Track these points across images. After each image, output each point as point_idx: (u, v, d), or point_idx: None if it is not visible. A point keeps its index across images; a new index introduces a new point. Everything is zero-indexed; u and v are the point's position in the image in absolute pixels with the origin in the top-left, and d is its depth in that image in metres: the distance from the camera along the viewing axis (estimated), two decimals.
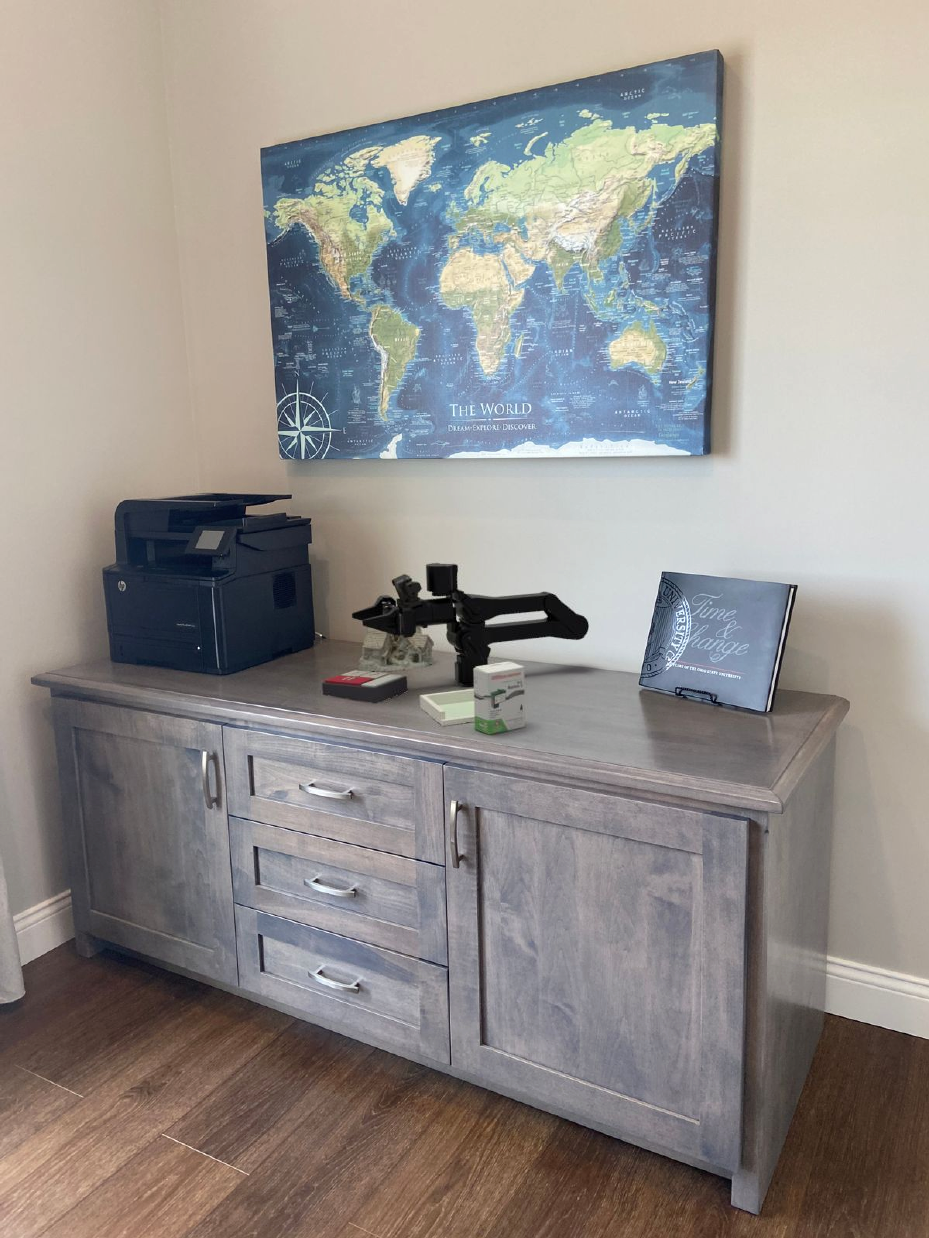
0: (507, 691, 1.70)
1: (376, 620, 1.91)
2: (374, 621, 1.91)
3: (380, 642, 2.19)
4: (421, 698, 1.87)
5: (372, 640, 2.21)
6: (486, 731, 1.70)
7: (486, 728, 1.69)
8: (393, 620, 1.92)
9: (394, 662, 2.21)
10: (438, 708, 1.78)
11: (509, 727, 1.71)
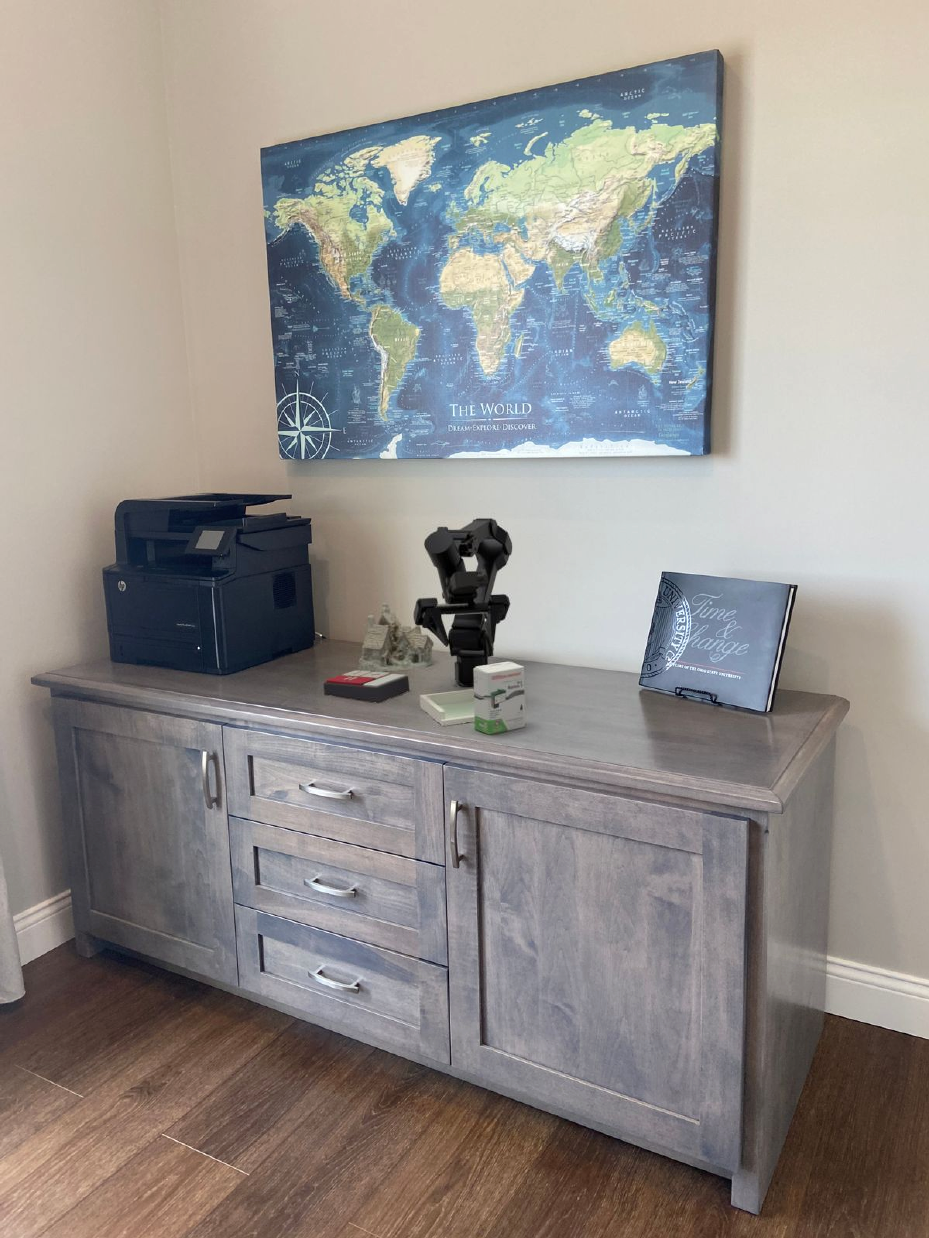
0: (507, 691, 1.70)
1: None
2: None
3: (380, 642, 2.19)
4: (421, 698, 1.87)
5: (372, 641, 2.20)
6: (486, 731, 1.70)
7: (486, 728, 1.69)
8: None
9: (394, 662, 2.21)
10: (438, 708, 1.78)
11: (509, 727, 1.71)
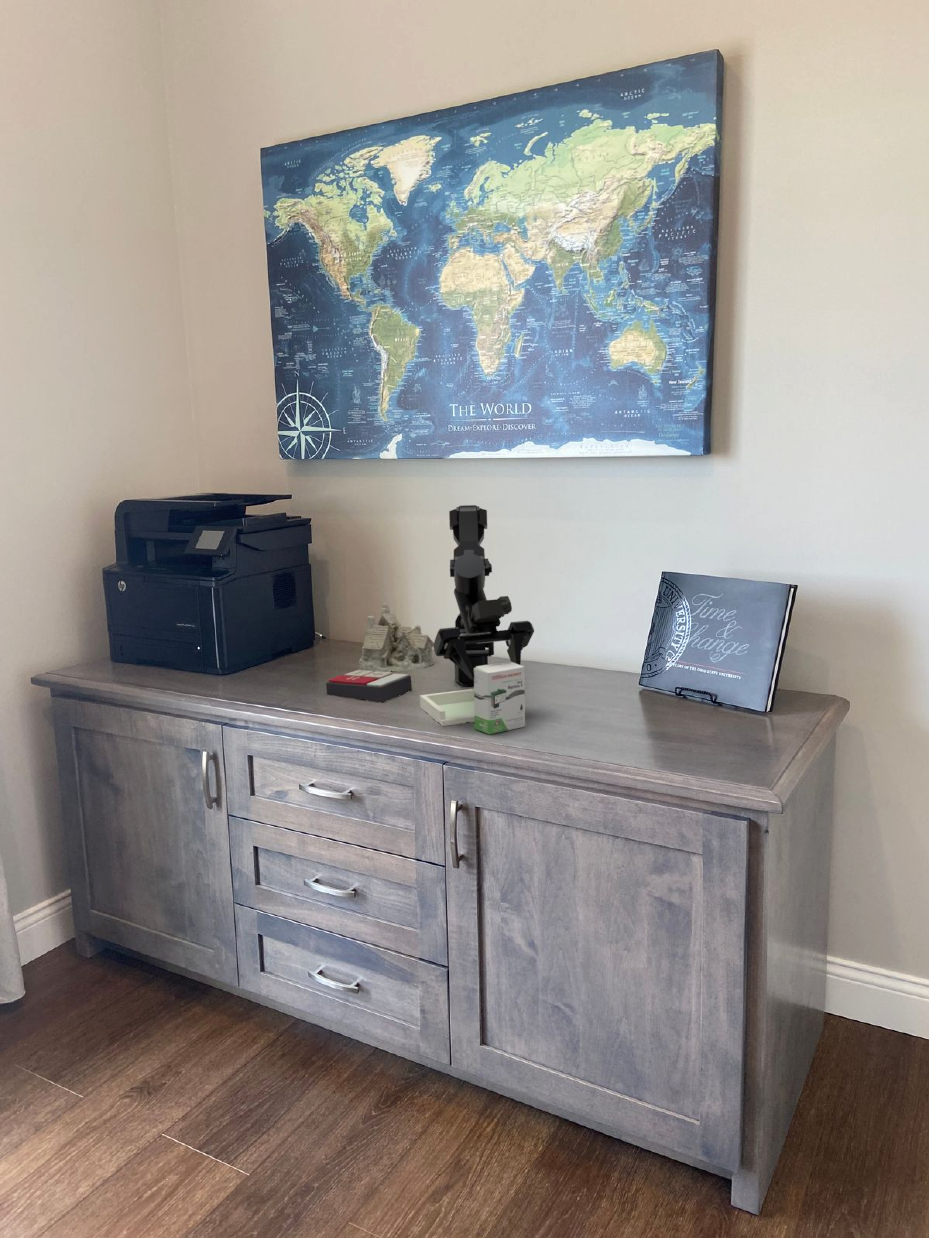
0: (507, 691, 1.70)
1: None
2: None
3: (380, 643, 2.18)
4: (421, 698, 1.87)
5: (372, 641, 2.20)
6: (486, 731, 1.70)
7: (486, 728, 1.69)
8: None
9: (394, 663, 2.20)
10: (438, 708, 1.78)
11: (509, 727, 1.71)
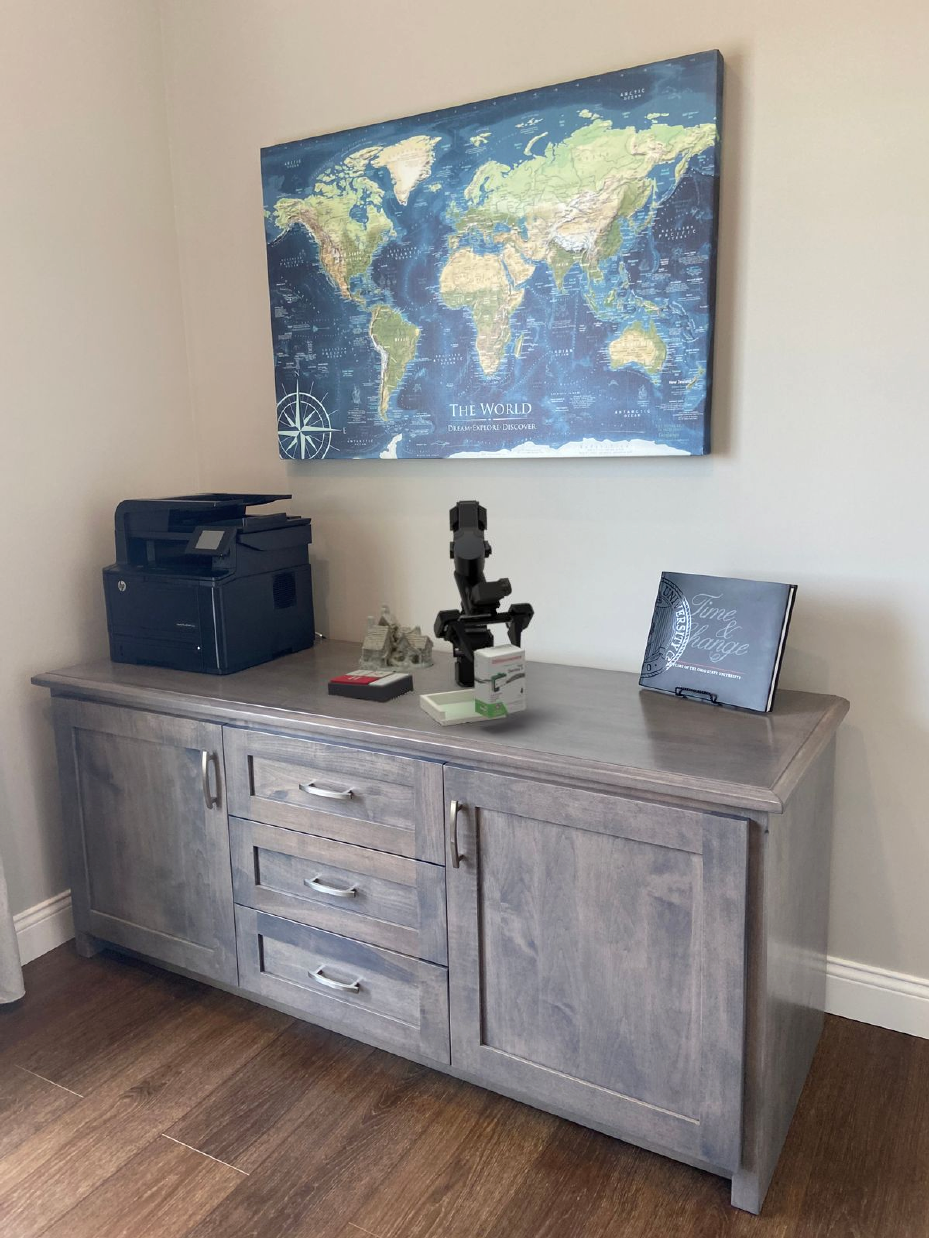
0: (508, 675, 1.70)
1: None
2: None
3: (380, 643, 2.18)
4: (421, 698, 1.87)
5: (372, 642, 2.19)
6: (486, 714, 1.70)
7: (486, 711, 1.69)
8: None
9: (394, 663, 2.20)
10: (438, 708, 1.78)
11: (509, 710, 1.71)
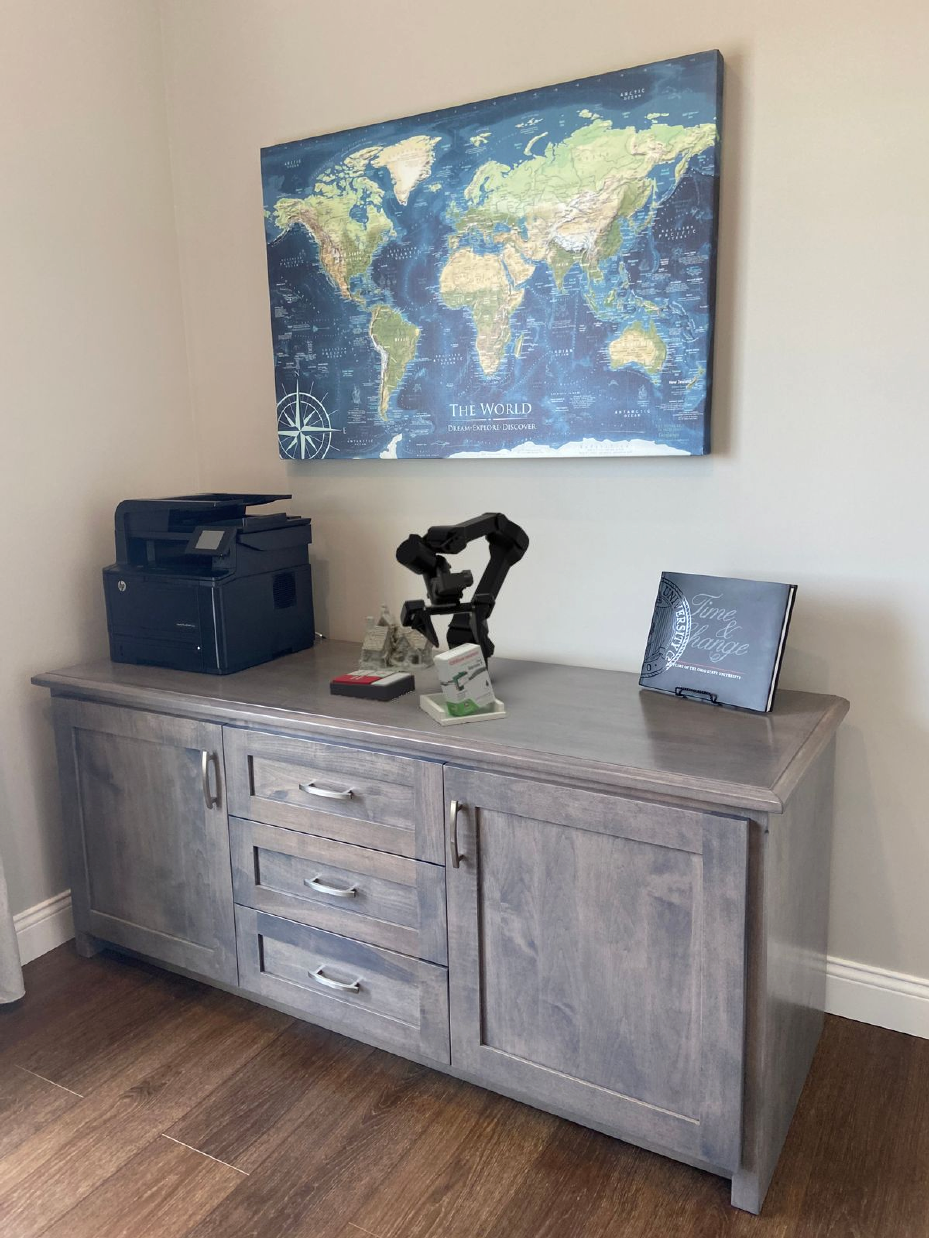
0: (469, 672, 1.78)
1: None
2: None
3: (380, 644, 2.18)
4: (421, 698, 1.87)
5: (372, 642, 2.19)
6: (458, 713, 1.78)
7: (457, 711, 1.78)
8: None
9: (394, 664, 2.19)
10: (438, 708, 1.78)
11: (479, 704, 1.80)
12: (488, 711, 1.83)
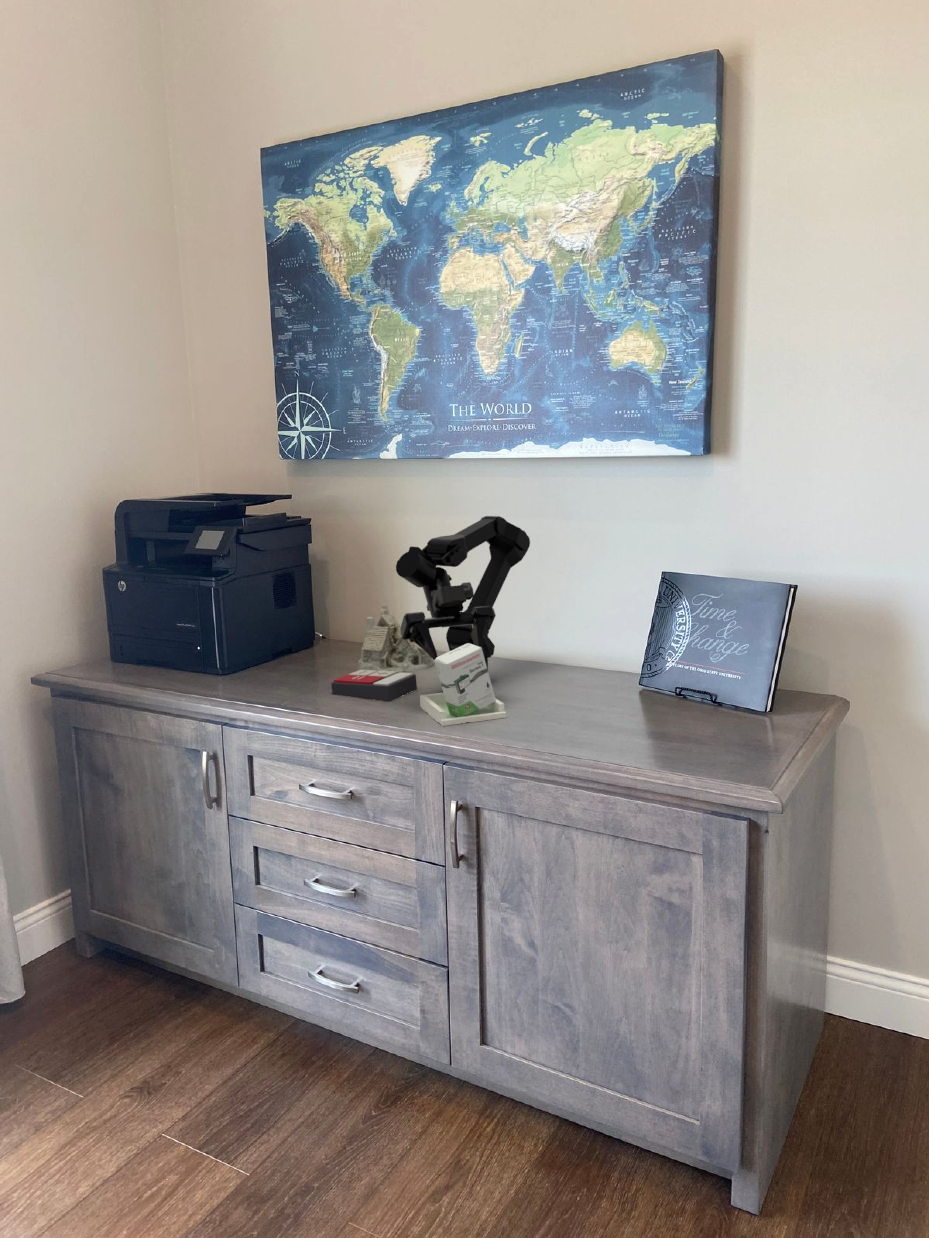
0: (470, 675, 1.78)
1: None
2: None
3: (380, 644, 2.17)
4: (421, 698, 1.87)
5: (372, 642, 2.18)
6: (459, 715, 1.79)
7: (458, 713, 1.78)
8: None
9: (394, 664, 2.19)
10: (438, 708, 1.78)
11: (480, 706, 1.80)
12: (488, 711, 1.83)
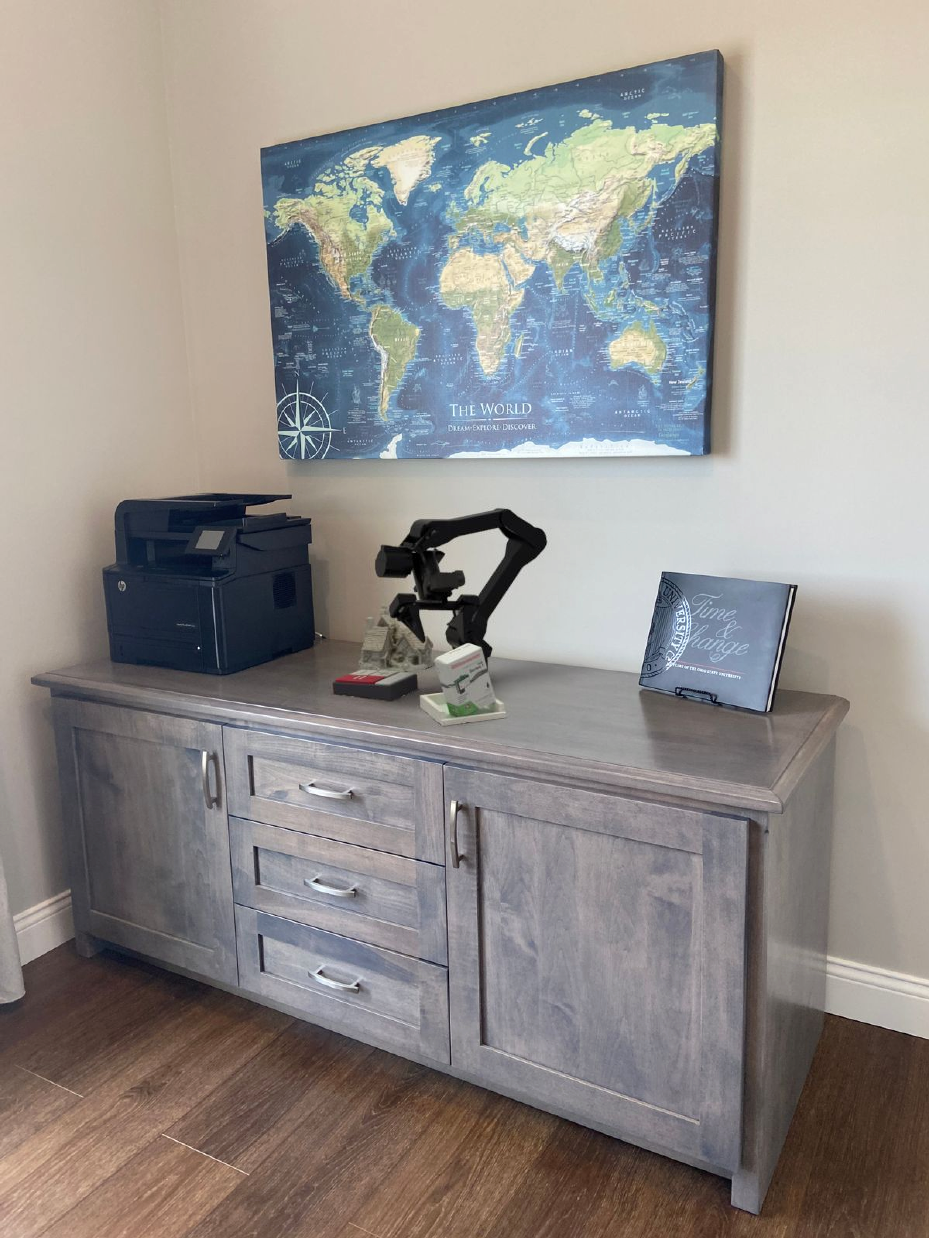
0: (470, 675, 1.78)
1: None
2: None
3: (380, 644, 2.17)
4: (421, 698, 1.87)
5: (372, 643, 2.18)
6: (459, 715, 1.79)
7: (458, 713, 1.78)
8: None
9: (394, 664, 2.19)
10: (438, 708, 1.78)
11: (480, 706, 1.80)
12: (488, 711, 1.83)
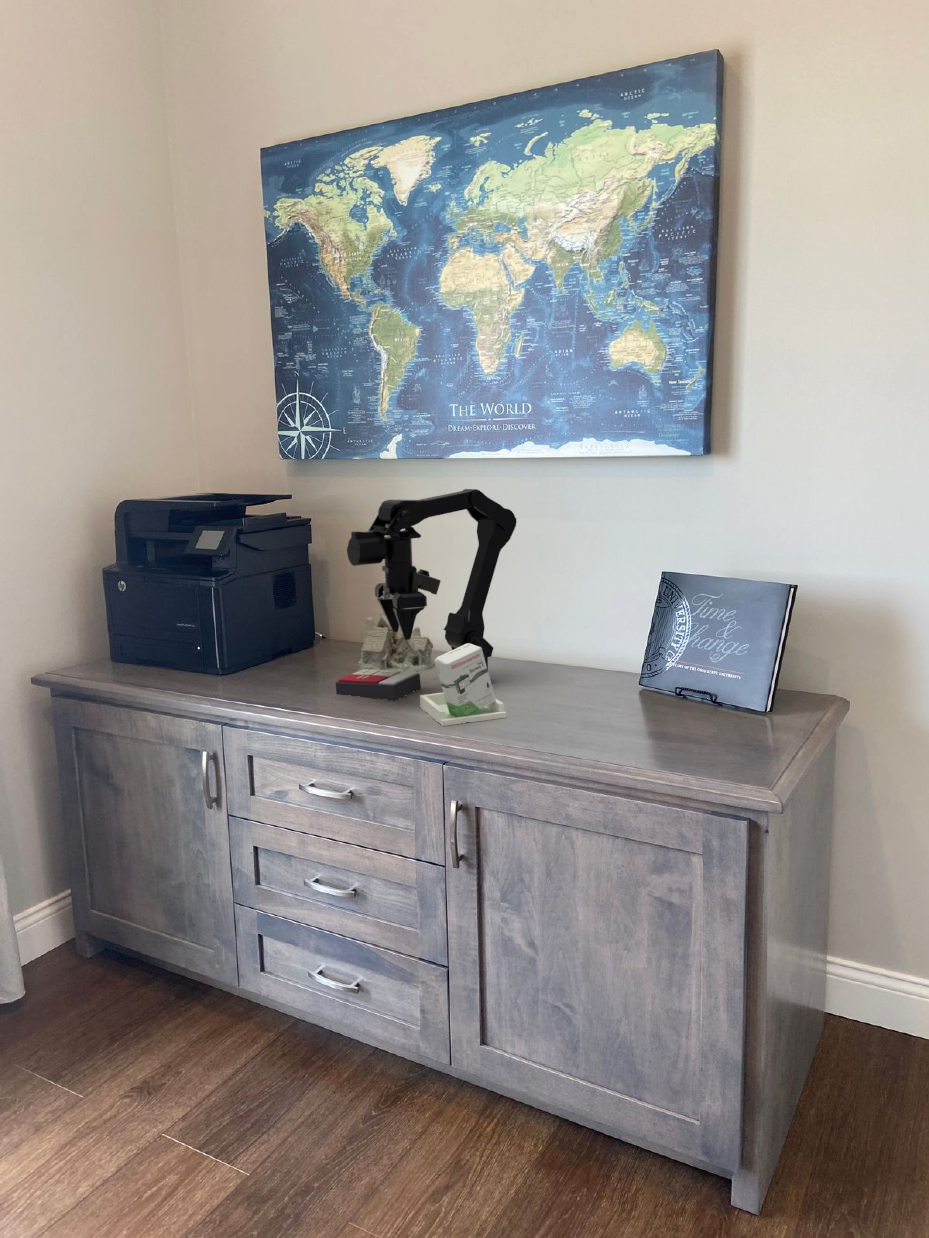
0: (470, 675, 1.78)
1: None
2: None
3: (380, 645, 2.16)
4: (421, 698, 1.87)
5: (372, 643, 2.17)
6: (459, 715, 1.79)
7: (458, 713, 1.78)
8: None
9: (394, 665, 2.18)
10: (438, 708, 1.78)
11: (480, 706, 1.80)
12: (488, 711, 1.83)
